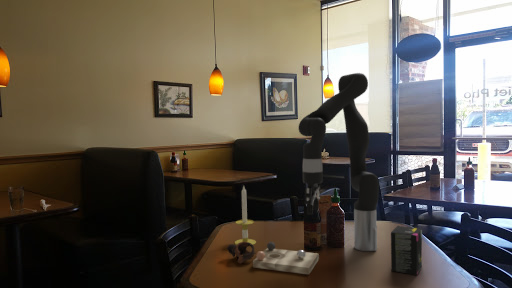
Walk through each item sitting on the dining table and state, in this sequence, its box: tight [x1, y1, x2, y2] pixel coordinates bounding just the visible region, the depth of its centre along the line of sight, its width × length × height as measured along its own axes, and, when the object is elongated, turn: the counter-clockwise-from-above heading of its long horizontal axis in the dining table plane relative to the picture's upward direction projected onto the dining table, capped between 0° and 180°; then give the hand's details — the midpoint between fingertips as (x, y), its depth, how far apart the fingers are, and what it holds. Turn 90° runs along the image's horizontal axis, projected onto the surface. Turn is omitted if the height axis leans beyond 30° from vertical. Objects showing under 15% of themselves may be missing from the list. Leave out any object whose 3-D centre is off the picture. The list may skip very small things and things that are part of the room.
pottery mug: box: [226, 242, 257, 264], centre depth 159 cm, size 12×10×8 cm
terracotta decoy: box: [255, 250, 265, 260], centre depth 151 cm, size 3×3×3 cm
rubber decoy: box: [266, 241, 276, 250], centre depth 162 cm, size 3×3×3 cm
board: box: [252, 248, 320, 275], centre depth 153 cm, size 22×16×2 cm
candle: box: [234, 185, 257, 246], centre depth 180 cm, size 10×10×27 cm
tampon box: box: [390, 225, 423, 276], centre depth 145 cm, size 11×9×15 cm
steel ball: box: [297, 249, 306, 259], centre depth 151 cm, size 3×3×3 cm
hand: (312, 212), depth 150 cm, fingers open, 8 cm apart
